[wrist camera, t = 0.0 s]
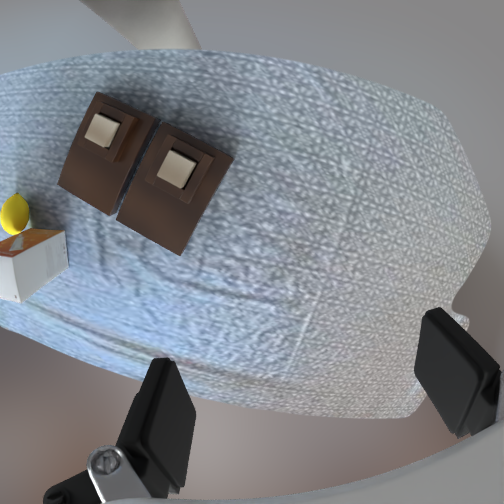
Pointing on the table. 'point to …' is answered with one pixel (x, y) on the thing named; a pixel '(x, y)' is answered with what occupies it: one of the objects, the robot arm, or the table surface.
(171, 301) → the table surface
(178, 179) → the key
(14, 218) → the lemon
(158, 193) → the keys high
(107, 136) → the key
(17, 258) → the small box
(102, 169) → the keys low
